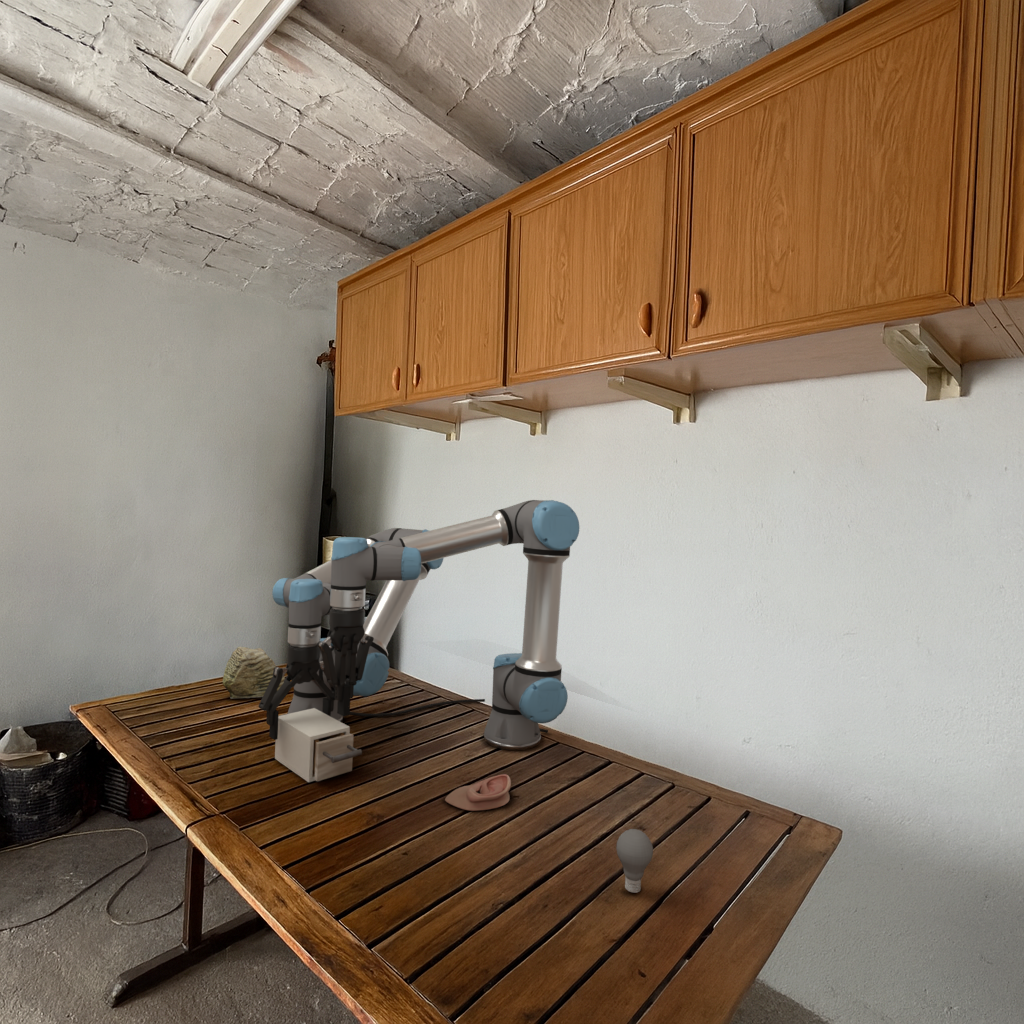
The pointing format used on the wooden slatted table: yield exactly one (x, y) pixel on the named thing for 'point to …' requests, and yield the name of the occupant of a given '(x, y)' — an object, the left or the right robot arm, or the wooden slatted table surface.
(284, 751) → the cabinet
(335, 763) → the drawer
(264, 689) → the fossil
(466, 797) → the anatomical model
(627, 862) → the light bulb
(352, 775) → the wooden slatted table surface
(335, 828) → the wooden slatted table surface
